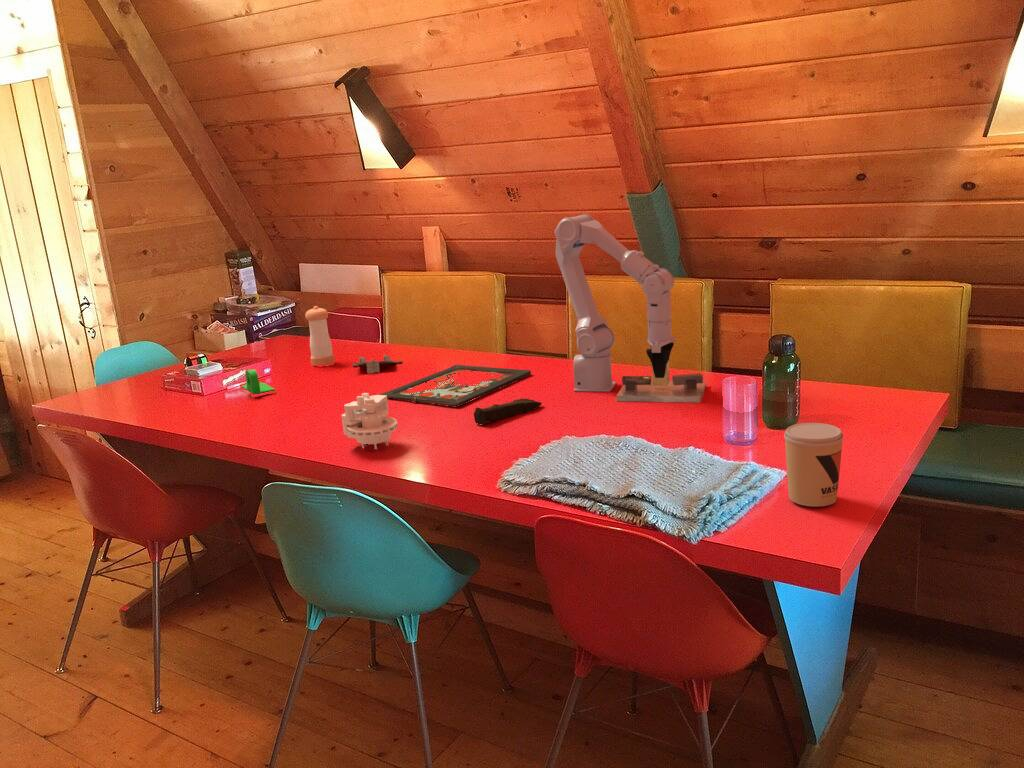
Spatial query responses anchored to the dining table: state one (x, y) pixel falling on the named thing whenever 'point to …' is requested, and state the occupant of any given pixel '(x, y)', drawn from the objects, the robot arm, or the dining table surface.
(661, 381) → the tan block with knob
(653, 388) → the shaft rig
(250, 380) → the mechanical part
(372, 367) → the metal bracket
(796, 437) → the coffee cup
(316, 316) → the salt shaker
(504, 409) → the hand tool
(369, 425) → the mechanical part
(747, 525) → the dining table surface
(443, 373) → the painting
